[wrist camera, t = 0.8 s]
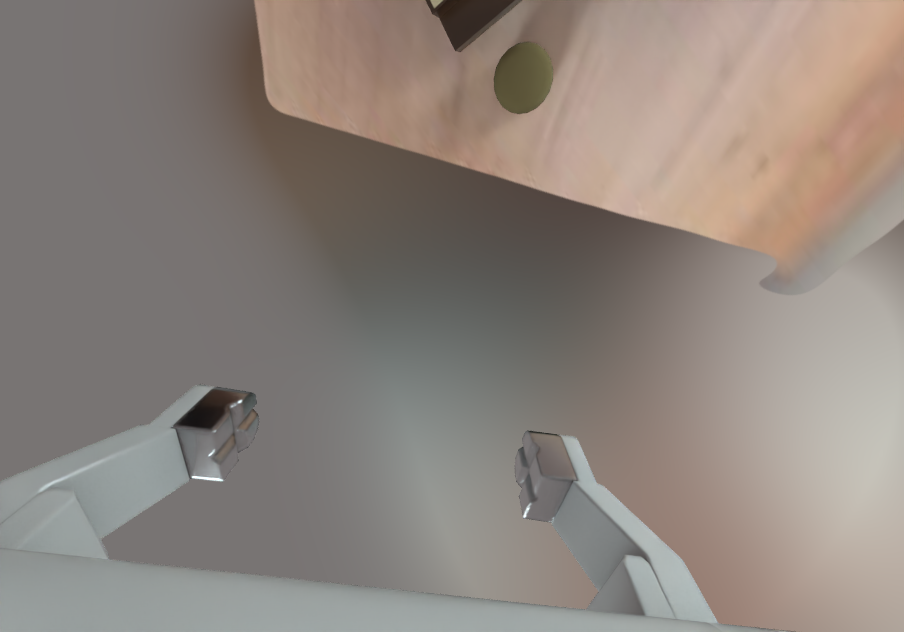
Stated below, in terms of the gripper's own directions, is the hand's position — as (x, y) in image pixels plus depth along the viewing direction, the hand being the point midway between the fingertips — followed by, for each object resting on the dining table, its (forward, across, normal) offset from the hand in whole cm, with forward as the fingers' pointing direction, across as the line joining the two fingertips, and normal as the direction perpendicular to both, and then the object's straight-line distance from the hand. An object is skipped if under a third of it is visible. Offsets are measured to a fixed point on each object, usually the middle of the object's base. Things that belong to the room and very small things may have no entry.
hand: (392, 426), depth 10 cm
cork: (+37, -7, -17) cm, 42 cm away
